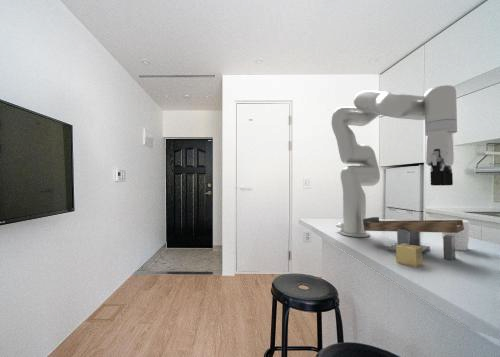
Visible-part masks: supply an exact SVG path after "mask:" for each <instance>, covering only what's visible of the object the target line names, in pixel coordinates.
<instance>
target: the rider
mask: <svg viewBox="0 0 500 357" xmlns="http://www.w3.org/2000/svg"><path fill="white" fill-rule="evenodd" d="M396 245H397V244H396ZM395 254H396V256H395V257H396V258H395V259H396V263H398V264H401V265H405V266H410V267H413V268H417V267H419V266H421V265H423V253H422V247H421V246H415V245H409V244H404V243H403V244H400V245H397V246H396V253H395Z"/></svg>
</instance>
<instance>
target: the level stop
mask: <svg viewBox="0 0 500 357" xmlns="http://www.w3.org/2000/svg"><path fill="white" fill-rule="evenodd" d="M442 244H443V246H442V247H443V248H442V250H443V259H444V260H448V261H453V260H454V259H456V250H455V236H453V235H445V236H443V237H442Z"/></svg>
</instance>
